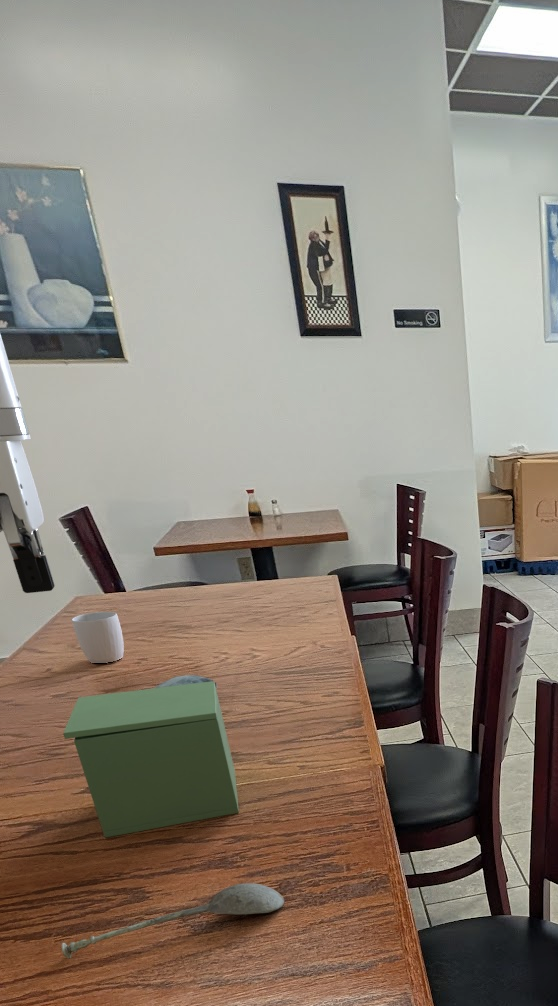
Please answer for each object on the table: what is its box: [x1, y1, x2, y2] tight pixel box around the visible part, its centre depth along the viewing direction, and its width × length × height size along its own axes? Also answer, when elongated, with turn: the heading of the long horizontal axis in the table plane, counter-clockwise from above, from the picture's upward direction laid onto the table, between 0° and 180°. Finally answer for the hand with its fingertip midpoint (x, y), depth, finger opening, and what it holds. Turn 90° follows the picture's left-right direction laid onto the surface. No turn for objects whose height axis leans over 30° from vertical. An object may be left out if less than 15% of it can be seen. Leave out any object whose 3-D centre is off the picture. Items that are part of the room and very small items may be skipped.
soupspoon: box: [60, 882, 285, 959], centre depth 88 cm, size 22×3×7 cm
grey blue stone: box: [154, 674, 218, 689], centre depth 155 cm, size 9×12×5 cm
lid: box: [62, 680, 217, 740], centre depth 110 cm, size 18×15×1 cm
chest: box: [73, 687, 240, 839], centre depth 114 cm, size 17×15×14 cm
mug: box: [71, 611, 125, 664], centre depth 184 cm, size 13×9×10 cm
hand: (39, 590), depth 101 cm, fingers closed
